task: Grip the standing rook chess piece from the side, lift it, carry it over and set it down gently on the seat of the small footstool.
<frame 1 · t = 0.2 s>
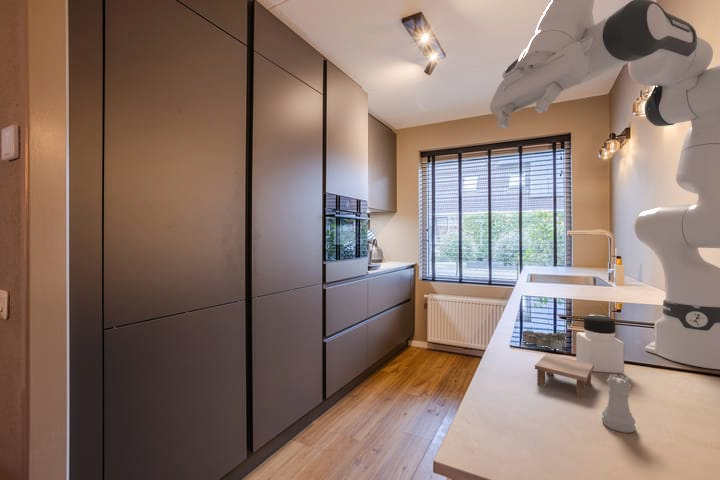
hand: (519, 118, 65), 54 cm above the worktop, tool tilted 30°, fingers open, 8 cm apart
mossy rock: (543, 346, 95), on the worktop
footstool: (564, 383, 70), on the worktop
rook chess piece: (618, 427, 54), on the worktop
medicine bottle: (598, 367, 79), on the worktop
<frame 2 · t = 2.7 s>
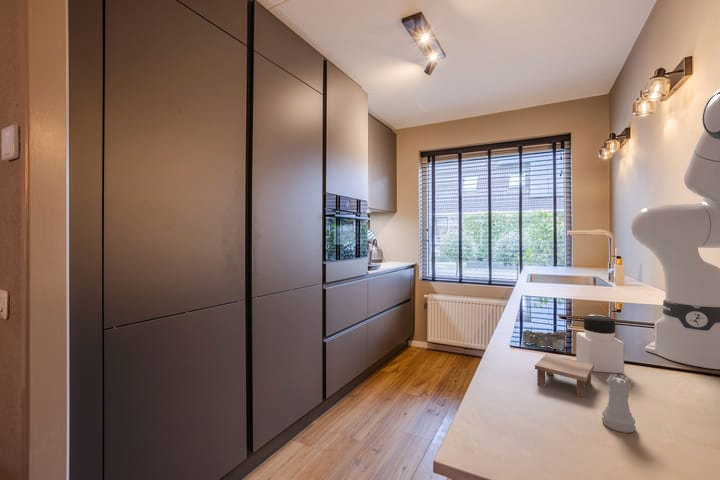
nothing on the worktop moved.
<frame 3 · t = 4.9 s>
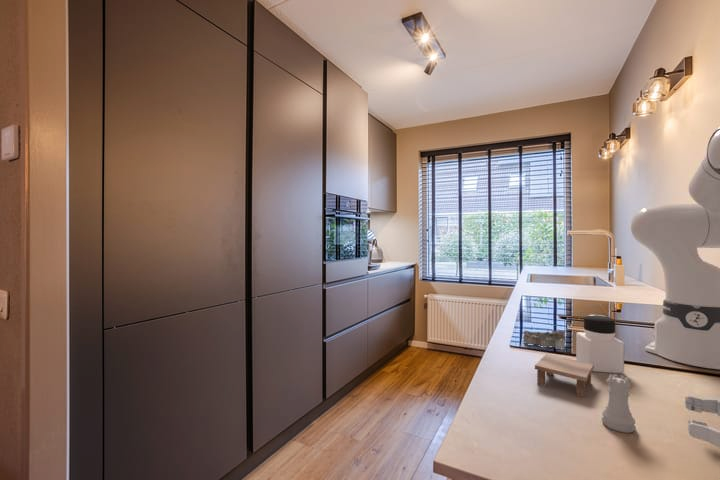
hand: (686, 413, 49), 5 cm above the worktop, tool horizontal, fingers open, 8 cm apart
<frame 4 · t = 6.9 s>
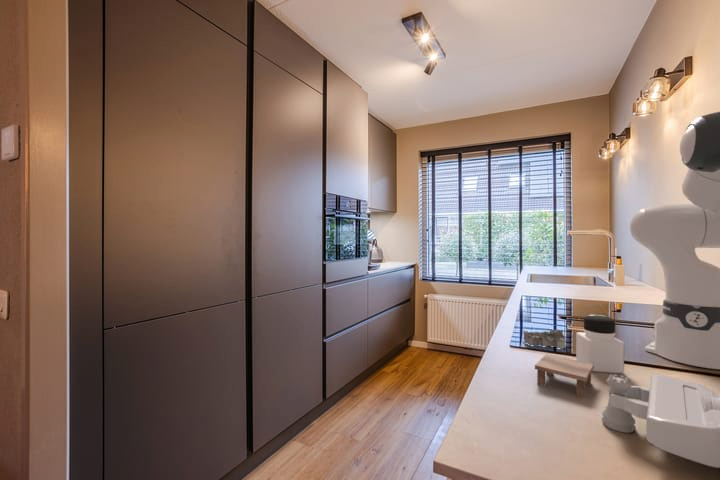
hand: (611, 393, 55), 5 cm above the worktop, tool horizontal, fingers closed on rook chess piece, 3 cm apart
rook chess piece: (618, 427, 54), on the worktop, touching gripper
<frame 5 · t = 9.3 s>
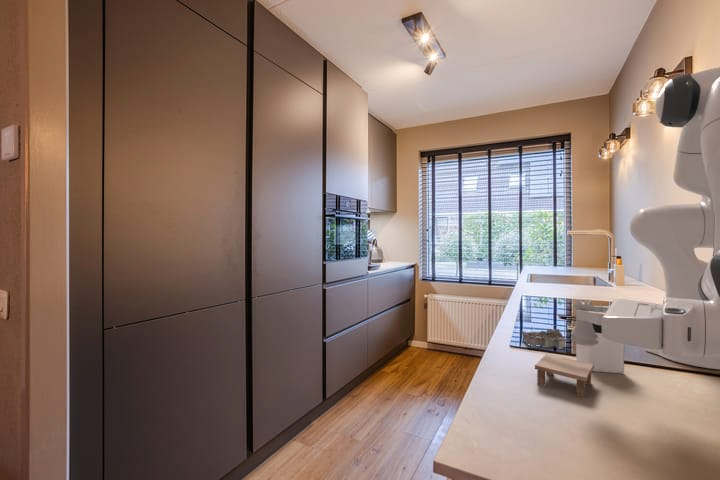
hand: (578, 312, 64), 16 cm above the worktop, tool horizontal, fingers closed on rook chess piece, 3 cm apart
rook chess piece: (584, 343, 64), point 10 cm above the worktop, touching gripper
when the fingers open (10 cm above the worktop, at t = 11.6 s): rook chess piece stays where it is, resting on footstool.
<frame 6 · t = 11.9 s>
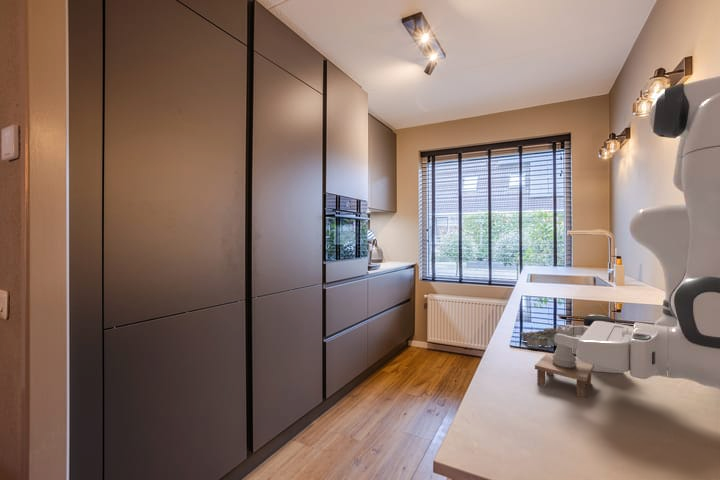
hand: (559, 333, 70), 10 cm above the worktop, tool horizontal, fingers open, 7 cm apart
rook chess piece: (564, 365, 70), point 4 cm above the worktop, touching footstool
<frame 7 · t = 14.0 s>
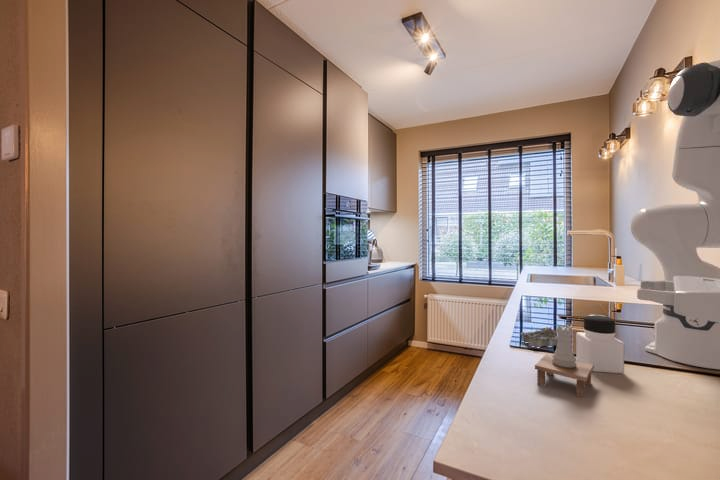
hand: (639, 289, 62), 21 cm above the worktop, tool horizontal, fingers open, 8 cm apart
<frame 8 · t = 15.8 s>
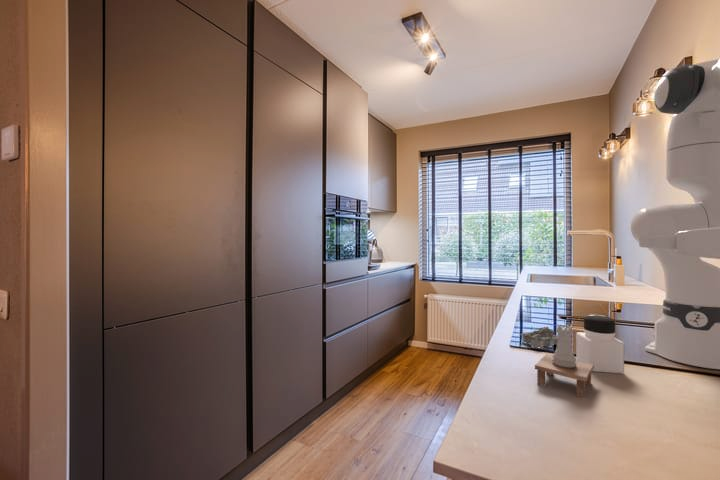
hand: (640, 241, 61), 30 cm above the worktop, tool horizontal, fingers open, 8 cm apart
at the end: rook chess piece inside the target area on the footstool (0.1 cm from its centre), point 3.8 cm above the footstool's base; rook chess piece tilted 0°; the gripper is holding nothing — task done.
